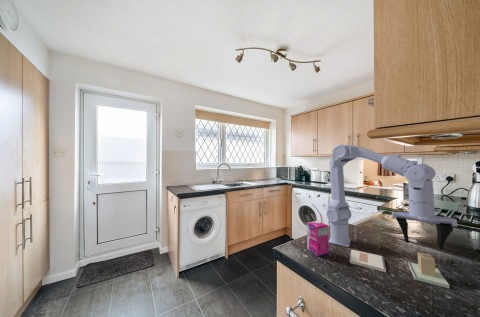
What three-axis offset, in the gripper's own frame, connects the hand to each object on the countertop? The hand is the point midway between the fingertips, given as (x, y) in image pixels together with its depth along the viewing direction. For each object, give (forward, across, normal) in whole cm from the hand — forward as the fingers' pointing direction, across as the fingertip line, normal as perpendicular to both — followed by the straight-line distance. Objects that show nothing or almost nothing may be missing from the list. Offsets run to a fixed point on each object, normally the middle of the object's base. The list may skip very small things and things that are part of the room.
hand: (422, 244), depth 57 cm
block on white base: (+9, +1, 0) cm, 9 cm away
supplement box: (+10, -31, -3) cm, 32 cm away
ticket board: (+9, -15, 0) cm, 18 cm away
